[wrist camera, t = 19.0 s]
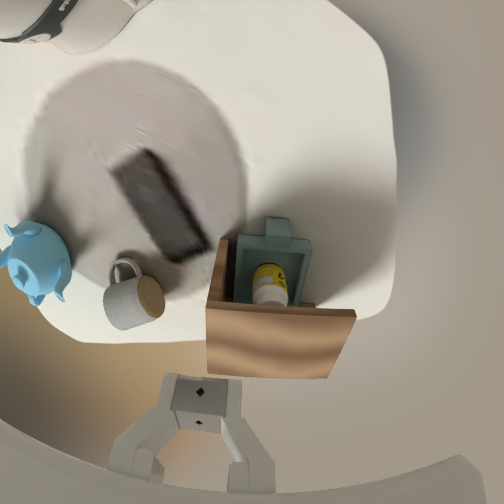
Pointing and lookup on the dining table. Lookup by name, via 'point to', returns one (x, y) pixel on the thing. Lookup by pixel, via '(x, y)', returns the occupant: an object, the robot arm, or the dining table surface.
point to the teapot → (37, 260)
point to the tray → (271, 259)
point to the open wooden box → (270, 334)
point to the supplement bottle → (269, 284)
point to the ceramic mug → (132, 298)
